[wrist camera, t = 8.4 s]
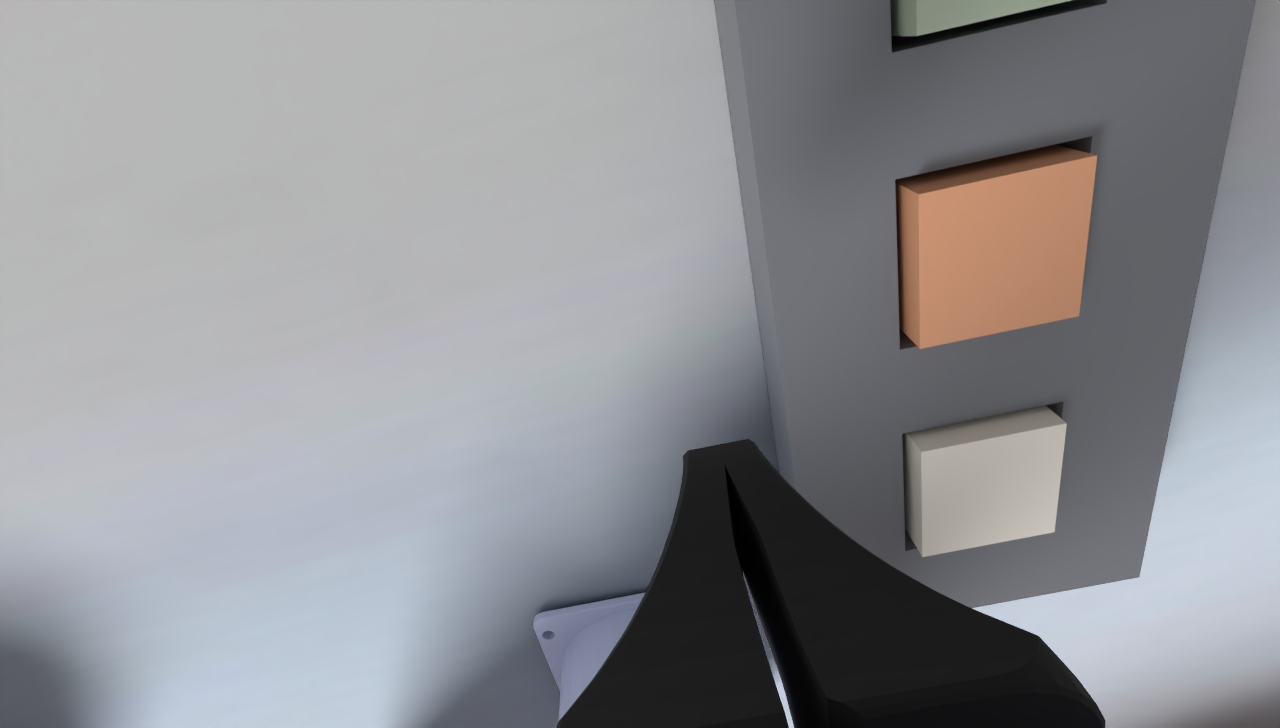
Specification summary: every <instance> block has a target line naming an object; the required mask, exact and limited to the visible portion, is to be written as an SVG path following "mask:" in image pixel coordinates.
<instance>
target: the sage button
mask: <svg viewBox="0 0 1280 728" xmlns="http://www.w3.org/2000/svg"><path fill="white" fill-rule="evenodd" d="M1067 1H1071V0H890V8H891V36H920V35H924V34H929V33H933V32H937V31H942V30H946V29H950V28H955V27H959V26H963V25H967V24H972V23H976V22H980V21H985V20H989V19H993V18H998V17H1002V16H1006V15H1011V14H1015V13H1019V12H1023V11H1028V10H1032V9H1036V8H1041V7H1045V6H1049V5H1054V4H1058V3H1062V2H1067Z"/></svg>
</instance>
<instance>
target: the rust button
mask: <svg viewBox="0 0 1280 728" xmlns="http://www.w3.org/2000/svg"><path fill="white" fill-rule="evenodd" d="M1096 163H1097V155H1094V154H1090V153H1086V152H1082V151H1078V150H1074V149H1070V148H1066V147H1062V146H1058V145H1049V146H1045V147H1040V148H1036V149H1031V150H1027V151H1022V152H1018V153H1013V154H1009V155H1004V156H1000V157H995V158H991V159H986V160H982V161H977V162H973V163H968V164H963V165H959V166H954V167H950V168H945V169H941V170H936V171H932V172H927V173H923V174H918V175H914V176H909V177H905V178H900V179H896V180H895V191H896V227H897V264H898V301H899V328H900V329H901V330H902V331H903V332H904V333H905V334H906V335H907V336H908V337H909V338H910V339H911V340H912V341H913V342H914V343H915V344H916V345H917V346H918V347H919V348H920V349H923V348H928V347H932V346H937V345H942V344H947V343H952V342H957V341H961V340H966V339H971V338H976V337H981V336H986V335H991V334H995V333H1000V332H1005V331H1010V330H1015V329H1020V328H1024V327H1029V326H1034V325H1039V324H1044V323H1049V322H1053V321H1058V320H1063V319H1068V318H1073V317H1078V316H1079V313H1080V304H1081V295H1082V286H1083V278H1084V269H1085V260H1086V251H1087V242H1088V233H1089V225H1090V216H1091V207H1092V198H1093V189H1094V181H1095V172H1096Z"/></svg>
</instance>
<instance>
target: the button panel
mask: <svg viewBox="0 0 1280 728" xmlns="http://www.w3.org/2000/svg"><path fill="white" fill-rule="evenodd" d="M714 3H715V11H716V18H717V25H718V32H719V40H720V47H721V54H722V61H723V69H724V76H725V83H726V90H727V98H728V105H729V112H730V119H731V127H732V134H733V141H734V148H735V156H736V163H737V170H738V177H739V185H740V192H741V199H742V206H743V214H744V221H745V228H746V236H747V243H748V250H749V257H750V265H751V272H752V279H753V286H754V294H755V301H756V308H757V315H758V323H759V330H760V337H761V344H762V352H763V359H764V366H765V373H766V381H767V388H768V395H769V402H770V410H771V417H772V424H773V431H774V439H775V446H776V453H777V461H778V468H779V474H780V475H781V476H782V477H783V478H784V479H785V480H786V481H787V482H788V483H789V484H790V485H791V486H792V487H793V488H794V489H795V490H796V491H797V492H798V493H799V494H800V495H801V496H802V497H803V498H804V499H805V500H806V501H807V502H809V503H810V504H811V505H812V506H813V507H814V508H815V509H816V510H817V511H819V512H820V513H821V514H822V515H823V516H824V517H826V518H827V519H828V520H829V521H830V522H832V523H833V524H834V525H835V526H836V527H838V528H839V529H840V530H841V531H843V532H844V533H845V534H847V535H848V536H849V537H850V538H852V539H853V540H854V541H856V542H857V543H859V544H860V545H861V546H863V547H864V548H866V549H867V550H869V551H870V552H871V553H873V554H874V555H876V556H877V557H879V558H880V559H882V560H883V561H885V562H887V563H888V564H890V565H891V566H893V567H894V568H896V569H898V570H899V571H901V572H903V573H905V574H906V575H908V576H910V577H912V578H913V579H915V580H917V581H919V582H920V583H922V584H924V585H926V586H928V587H929V588H931V589H933V590H935V591H937V592H938V593H941V594H943V595H945V596H947V597H949V598H951V599H953V600H955V601H957V602H959V603H961V604H963V605H965V606H967V607H969V608H975V607H980V606H985V605H991V604H996V603H1002V602H1007V601H1012V600H1018V599H1023V598H1029V597H1034V596H1040V595H1045V594H1050V593H1056V592H1061V591H1067V590H1072V589H1077V588H1083V587H1088V586H1094V585H1099V584H1105V583H1110V582H1115V581H1121V580H1126V579H1132V578H1137V577H1139V575H1140V570H1141V565H1142V560H1143V556H1144V551H1145V546H1146V541H1147V536H1148V531H1149V526H1150V521H1151V516H1152V511H1153V506H1154V501H1155V496H1156V491H1157V486H1158V481H1159V476H1160V471H1161V466H1162V461H1163V456H1164V451H1165V446H1166V441H1167V436H1168V431H1169V427H1170V422H1171V417H1172V412H1173V407H1174V402H1175V397H1176V392H1177V387H1178V382H1179V377H1180V372H1181V367H1182V362H1183V357H1184V352H1185V347H1186V342H1187V337H1188V332H1189V327H1190V322H1191V317H1192V312H1193V307H1194V302H1195V298H1196V293H1197V288H1198V283H1199V278H1200V273H1201V268H1202V263H1203V258H1204V253H1205V248H1206V243H1207V238H1208V233H1209V228H1210V223H1211V218H1212V213H1213V208H1214V203H1215V198H1216V193H1217V188H1218V183H1219V178H1220V173H1221V169H1222V164H1223V159H1224V154H1225V149H1226V144H1227V139H1228V134H1229V129H1230V124H1231V119H1232V114H1233V109H1234V104H1235V99H1236V94H1237V89H1238V84H1239V79H1240V74H1241V69H1242V64H1243V59H1244V54H1245V49H1246V44H1247V39H1248V35H1249V30H1250V25H1251V20H1252V15H1253V10H1254V5H1255V0H1071V1H1067V2H1062V3H1058V4H1054V5H1049V6H1045V7H1041V8H1036V9H1032V10H1028V11H1023V12H1019V13H1015V14H1011V15H1006V16H1002V17H998V18H993V19H989V20H985V21H980V22H976V23H972V24H967V25H963V26H959V27H955V28H950V29H946V30H942V31H937V32H933V33H929V34H924V35H920V36H907V37H903V38H898V39H894V40H891V8H890V0H714ZM1049 145H1058V146H1062V147H1066V148H1070V149H1074V150H1078V151H1082V152H1086V153H1090V154H1094V155H1097V163H1096V172H1095V181H1094V189H1093V198H1092V207H1091V216H1090V225H1089V233H1088V242H1087V251H1086V260H1085V269H1084V278H1083V286H1082V295H1081V304H1080V313H1079V316H1078V317H1073V318H1068V319H1063V320H1058V321H1053V322H1049V323H1044V324H1039V325H1034V326H1029V327H1024V328H1020V329H1015V330H1010V331H1005V332H1000V333H995V334H991V335H986V336H981V337H976V338H971V339H966V340H961V341H957V342H952V343H947V344H942V345H937V346H932V347H928V348H923V349H920V348H919V347H918V346H917V345H916V344H915V343H914V342H913V341H912V340H911V339H910V338H909V337H908V336H907V335H906V334H905V333H904V332H903V331H902V330H901V329H900V328H899V301H898V264H897V227H896V191H895V180H896V179H900V178H905V177H909V176H914V175H918V174H923V173H927V172H932V171H936V170H941V169H945V168H950V167H954V166H959V165H963V164H968V163H973V162H977V161H982V160H986V159H991V158H995V157H1000V156H1004V155H1009V154H1013V153H1018V152H1022V151H1027V150H1031V149H1036V148H1040V147H1045V146H1049ZM1044 405H1046V406H1047V407H1048V408H1049V409H1051V410H1052V411H1053V412H1054V413H1055V414H1056V415H1058V416H1059V417H1060V418H1061V419H1062V420H1064V421H1065V422H1066V423H1067V427H1066V436H1065V444H1064V453H1063V462H1062V471H1061V480H1060V488H1059V497H1058V506H1057V515H1056V524H1055V532H1053V533H1048V534H1042V535H1037V536H1032V537H1027V538H1021V539H1016V540H1011V541H1006V542H1000V543H995V544H990V545H984V546H979V547H974V548H969V549H963V550H958V551H953V552H947V553H942V554H937V555H932V556H926V557H922V556H921V554H920V552H919V551H918V549H917V547H916V546H915V544H914V542H913V541H912V539H911V537H910V536H909V534H908V533H907V531H906V529H905V520H904V484H903V447H902V434H904V433H909V432H914V431H919V430H924V429H929V428H934V427H939V426H944V425H949V424H954V423H959V422H964V421H969V420H974V419H979V418H984V417H989V416H994V415H999V414H1004V413H1009V412H1014V411H1019V410H1024V409H1029V408H1034V407H1039V406H1044Z"/></svg>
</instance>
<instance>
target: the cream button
mask: <svg viewBox="0 0 1280 728" xmlns="http://www.w3.org/2000/svg"><path fill="white" fill-rule="evenodd" d="M1066 427H1067V423H1066V422H1065V421H1064V420H1062V419H1061V418H1060V417H1059V416H1058V415H1056V414H1055V413H1054V412H1053V411H1052V410H1051V409H1049V408H1048V407H1047V406H1046V405H1044V406H1039V407H1034V408H1029V409H1024V410H1019V411H1014V412H1009V413H1004V414H999V415H994V416H989V417H984V418H979V419H974V420H969V421H964V422H959V423H954V424H949V425H944V426H939V427H934V428H929V429H924V430H919V431H914V432H909V433H904V434H902V447H903V484H904V520H905V529H906V531H907V533H908V534H909V536H910V537H911V539H912V541H913V542H914V544H915V546H916V547H917V549H918V551H919V552H920V554H921V556H922V557H926V556H932V555H937V554H942V553H947V552H953V551H958V550H963V549H969V548H974V547H979V546H984V545H990V544H995V543H1000V542H1006V541H1011V540H1016V539H1021V538H1027V537H1032V536H1037V535H1042V534H1048V533H1053V532H1055V524H1056V515H1057V506H1058V497H1059V488H1060V480H1061V471H1062V462H1063V453H1064V444H1065V436H1066Z"/></svg>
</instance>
